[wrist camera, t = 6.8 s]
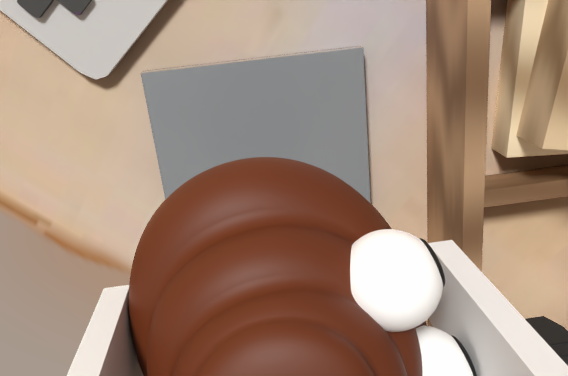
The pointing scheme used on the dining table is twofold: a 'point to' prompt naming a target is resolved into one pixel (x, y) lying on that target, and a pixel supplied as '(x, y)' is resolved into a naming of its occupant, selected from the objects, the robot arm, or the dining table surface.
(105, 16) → the handheld gaming console
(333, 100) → the mat
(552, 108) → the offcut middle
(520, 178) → the tray
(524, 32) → the tan flat rectangular block
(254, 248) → the poop emoji
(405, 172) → the dining table surface
